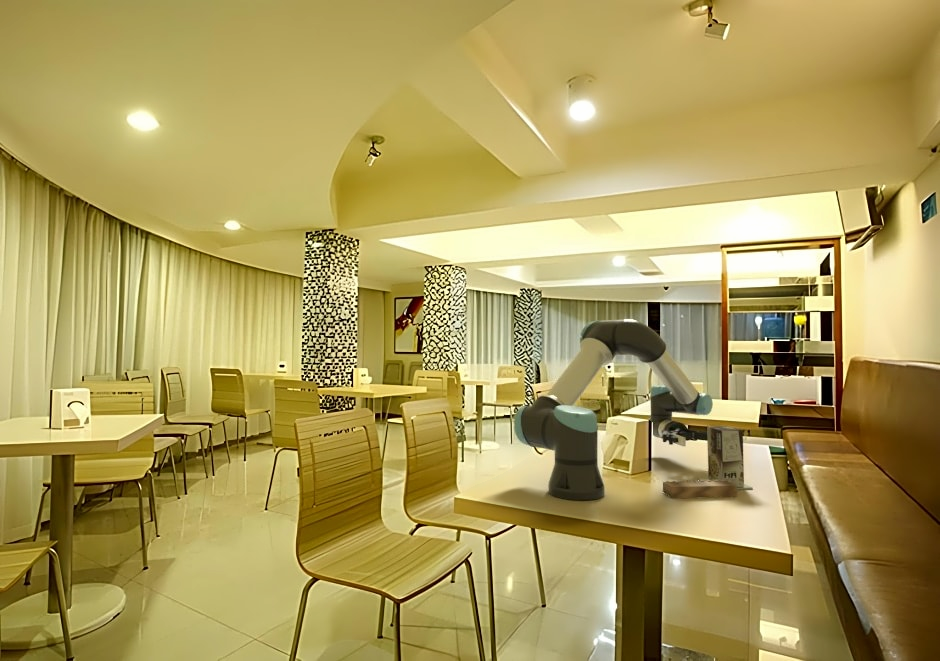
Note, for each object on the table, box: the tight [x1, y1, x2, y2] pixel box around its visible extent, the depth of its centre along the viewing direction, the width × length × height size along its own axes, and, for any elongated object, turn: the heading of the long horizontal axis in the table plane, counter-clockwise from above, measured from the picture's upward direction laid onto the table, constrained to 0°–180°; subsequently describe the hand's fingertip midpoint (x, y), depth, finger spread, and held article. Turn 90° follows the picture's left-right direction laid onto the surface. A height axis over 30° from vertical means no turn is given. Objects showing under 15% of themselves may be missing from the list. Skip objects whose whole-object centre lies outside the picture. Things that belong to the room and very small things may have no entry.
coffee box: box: [706, 425, 745, 487], centre depth 152 cm, size 9×6×16 cm
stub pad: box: [696, 478, 753, 490], centre depth 152 cm, size 10×11×1 cm
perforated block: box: [662, 479, 738, 499], centre depth 141 cm, size 18×6×3 cm, turn 95°
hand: (705, 441), depth 162 cm, fingers open, 13 cm apart
